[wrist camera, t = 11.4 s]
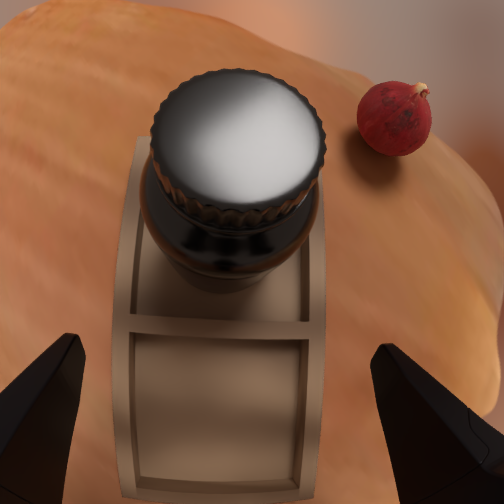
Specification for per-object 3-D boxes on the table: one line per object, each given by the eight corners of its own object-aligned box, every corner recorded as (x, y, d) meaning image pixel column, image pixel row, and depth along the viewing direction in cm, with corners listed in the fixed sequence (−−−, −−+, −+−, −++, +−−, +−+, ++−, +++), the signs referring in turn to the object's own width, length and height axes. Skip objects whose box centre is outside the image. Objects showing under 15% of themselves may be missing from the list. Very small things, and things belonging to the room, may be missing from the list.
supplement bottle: (209, 170, 20) (221, 22, 8) (294, 229, 20) (395, 125, 8) (143, 252, 18) (64, 155, 7) (233, 318, 18) (283, 317, 7)
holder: (302, 482, 17) (313, 498, 15) (129, 480, 15) (122, 497, 13) (308, 167, 22) (320, 150, 20) (143, 154, 20) (137, 136, 18)
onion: (387, 185, 23) (448, 138, 15) (330, 141, 23) (375, 77, 15) (407, 143, 24) (459, 96, 17) (358, 104, 24) (399, 46, 17)
